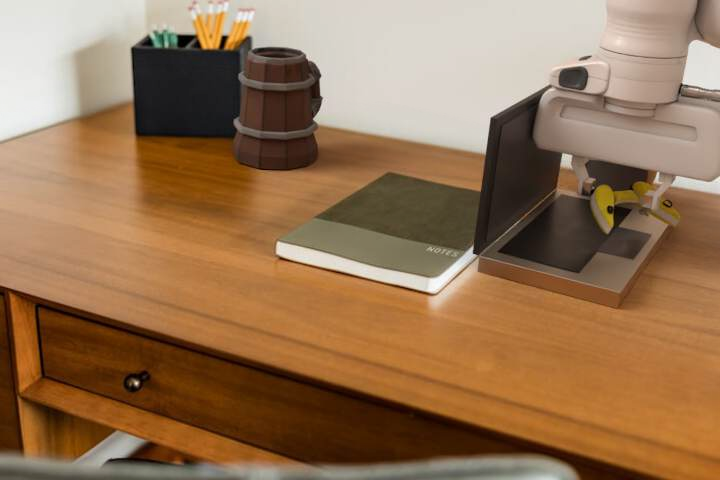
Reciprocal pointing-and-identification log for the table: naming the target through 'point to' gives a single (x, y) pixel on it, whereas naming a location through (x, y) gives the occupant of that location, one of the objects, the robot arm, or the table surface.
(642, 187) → the game controller
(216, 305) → the table surface
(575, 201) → the laptop
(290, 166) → the mug
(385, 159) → the table surface
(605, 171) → the striped round disc
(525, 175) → the laptop screen
